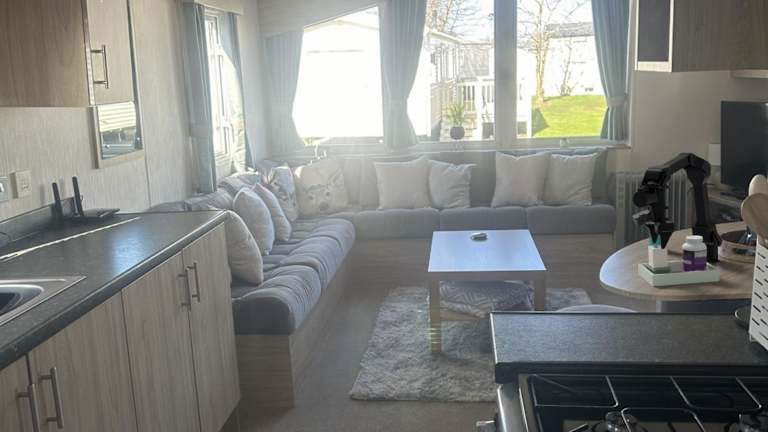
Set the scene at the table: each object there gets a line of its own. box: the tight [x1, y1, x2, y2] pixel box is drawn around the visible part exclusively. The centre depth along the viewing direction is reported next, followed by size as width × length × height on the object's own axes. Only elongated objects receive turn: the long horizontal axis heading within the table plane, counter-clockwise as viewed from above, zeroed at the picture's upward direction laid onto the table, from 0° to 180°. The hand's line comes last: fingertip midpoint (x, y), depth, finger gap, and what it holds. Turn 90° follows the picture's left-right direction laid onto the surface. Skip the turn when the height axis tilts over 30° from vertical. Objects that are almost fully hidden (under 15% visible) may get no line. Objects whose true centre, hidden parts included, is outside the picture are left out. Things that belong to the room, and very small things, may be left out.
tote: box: [637, 260, 720, 287], centre depth 270 cm, size 23×16×4 cm
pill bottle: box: [681, 235, 708, 272], centre depth 269 cm, size 8×8×14 cm
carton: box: [647, 245, 669, 268], centre depth 270 cm, size 5×5×8 cm
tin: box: [646, 264, 672, 275], centre depth 271 cm, size 7×7×5 cm
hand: (658, 246), depth 269 cm, fingers open, 9 cm apart
